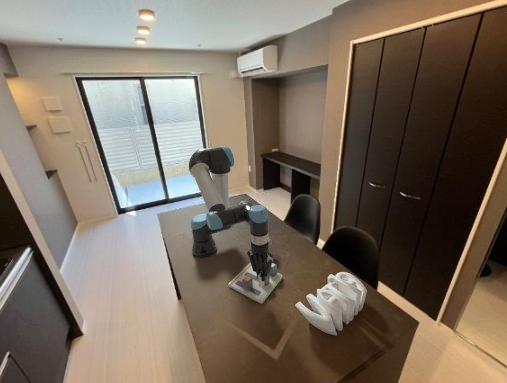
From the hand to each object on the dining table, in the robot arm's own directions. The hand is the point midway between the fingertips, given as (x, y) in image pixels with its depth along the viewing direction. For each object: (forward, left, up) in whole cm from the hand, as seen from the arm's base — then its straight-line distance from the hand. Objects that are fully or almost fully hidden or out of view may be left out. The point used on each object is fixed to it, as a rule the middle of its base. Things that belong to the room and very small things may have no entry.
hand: (261, 285), depth 104 cm
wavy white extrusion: (+30, +12, -8) cm, 33 cm away
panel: (-8, +7, -8) cm, 13 cm away
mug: (-17, +30, -8) cm, 36 cm away
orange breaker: (-8, 0, -6) cm, 10 cm away
